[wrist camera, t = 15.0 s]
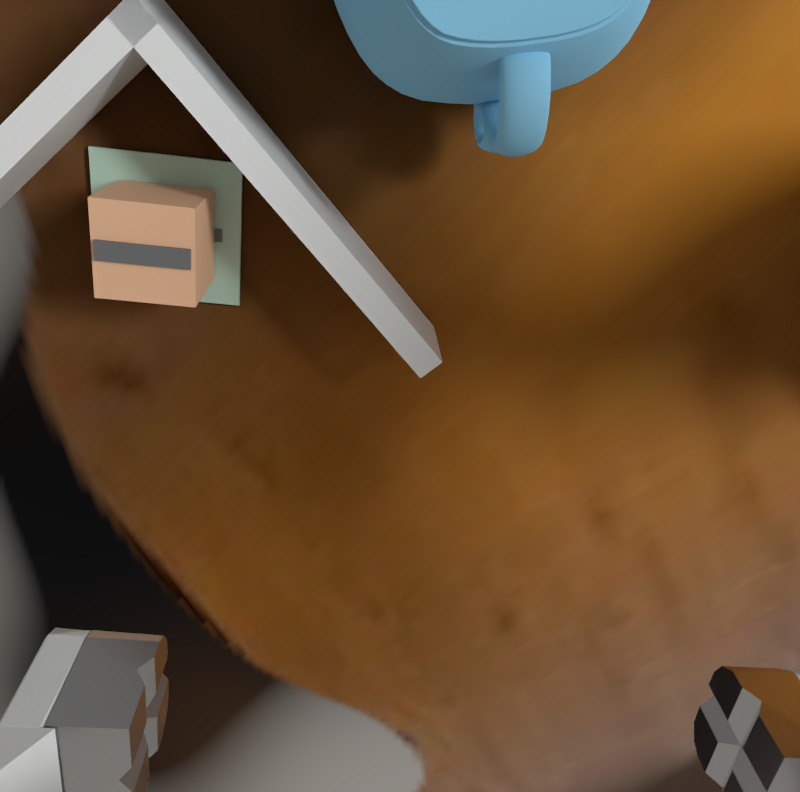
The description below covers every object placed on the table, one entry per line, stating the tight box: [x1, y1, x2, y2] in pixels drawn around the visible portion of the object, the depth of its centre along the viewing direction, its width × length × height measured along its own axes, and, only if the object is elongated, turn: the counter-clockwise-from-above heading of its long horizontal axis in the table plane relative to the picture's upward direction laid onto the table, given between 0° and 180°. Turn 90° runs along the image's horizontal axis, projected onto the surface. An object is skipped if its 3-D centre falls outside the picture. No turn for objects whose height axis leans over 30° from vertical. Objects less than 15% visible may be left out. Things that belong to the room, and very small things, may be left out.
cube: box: [88, 180, 215, 307], centre depth 38 cm, size 5×5×5 cm
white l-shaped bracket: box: [0, 0, 442, 378], centre depth 39 cm, size 22×18×6 cm
